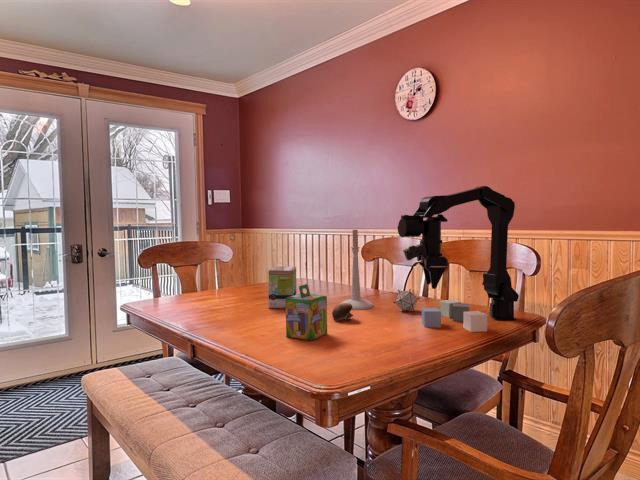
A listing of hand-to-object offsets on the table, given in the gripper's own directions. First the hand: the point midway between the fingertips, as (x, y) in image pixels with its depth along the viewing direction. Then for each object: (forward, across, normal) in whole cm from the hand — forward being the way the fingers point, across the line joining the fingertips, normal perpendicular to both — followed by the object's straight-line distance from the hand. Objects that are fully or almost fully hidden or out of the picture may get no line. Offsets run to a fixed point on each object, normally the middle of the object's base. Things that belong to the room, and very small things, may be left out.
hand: (431, 286), depth 132 cm
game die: (+12, -20, -5) cm, 24 cm away
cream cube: (+12, +5, +12) cm, 18 cm away
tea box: (+13, -32, -52) cm, 63 cm away
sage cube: (+12, -13, +9) cm, 20 cm away
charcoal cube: (+12, -7, +11) cm, 18 cm away
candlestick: (+13, -29, -23) cm, 39 cm away
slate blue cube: (+12, 0, 0) cm, 12 cm away
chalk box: (+13, +12, -38) cm, 42 cm away
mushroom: (+13, -7, -28) cm, 31 cm away
